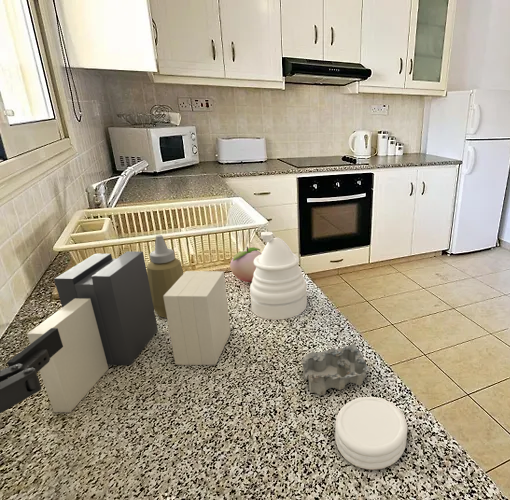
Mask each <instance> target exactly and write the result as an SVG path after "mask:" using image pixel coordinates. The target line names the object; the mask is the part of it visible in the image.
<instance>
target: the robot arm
mask: <svg viewBox="0 0 510 500" xmlns="http://www.w3.org/2000/svg"><path fill="white" fill-rule="evenodd" d="M62 347H63V344H62V341H61V338H60V334H59V331H58V328H51V329H50V330H48V331H47V332H46V333H44V334H43V335H42V336H40V337H39V338H38V339H37V340H35V341H34V342H33V343H31V344H30V343H29V345H27V346H26V347H24V348H23V349H22V350H21V351H20V352H18V353H17V354H16V355H15V356H13V357H12V358H10V359H9V360H8V361H7V363H6V364H7V366H8V367H5V368H3V369H2V368H1V369H0V414H3V413H4V412H6V411H7V410H8V409H11V408H12V407H14V406H16V405H17V404H19V403H21V402H23V401H25V400H26V399H28V398H30V397H32V396H34V395H35V394H37V393H38V392H40V391H41V390H42V384H41V381H40V379H39V376H38V372H40V371H39V370H41V369H42V368H43V367H44V366H45V365H46V364H47V363H48V362H49V361H50V358H51V357H52V356H53V355H54V354H56V353H57V352H58V351H59V350H60V349H61V348H62Z"/></svg>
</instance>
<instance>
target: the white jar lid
mask: <svg viewBox="0 0 510 500" xmlns="http://www.w3.org/2000/svg"><path fill="white" fill-rule="evenodd" d="M334 423H335V425H334V440H335V444H336V447H337V450H338V451H339V453H340V455H341V456H342V457H343V458H344V459H345V461H347V462H349V463H350V464H351V465H353V466H355V467H357V468H360V469H364V470H371V471H372V470H382V469H385V468H388V467H390V466H393V465H394V464H395V463H397V461H398V460H399V459H400V458H401V457H402V456H403V454H404V452H405V449H406V446H407V437H408V422H407V420H406V417H405V414H404V413H403V412H402V411H401V409H400V408H399V407H398V406H396V405H395V404H394V403H393V402H391V401H389V400H386V399H384V398H381V397H377V396H362V397H357V398H355V399H352V400H350V401H348V402H347V403H345V404H344V405H343V406H342V407H341V408H340V410H339V411H338V413H337V415H336V418H335V422H334Z"/></svg>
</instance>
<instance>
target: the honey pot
mask: <svg viewBox="0 0 510 500" xmlns="http://www.w3.org/2000/svg"><path fill="white" fill-rule="evenodd" d="M260 237H261V239H262V241H264V242H265V243H266V244H265V246H264V247H263V248H262V251H261V252H260V253H261V255H258V256H257V257H256V258H255V259H254V265H255V266H256V270H255V271H254V274H253V275H254V277H253V279H252V281H251V282H250V285H249V293H250V307H251V311H252V313H253V314H254V315H256V316H257V317H259V318H262V319H265V320H270V321H271V320H272V321H279V320H280V321H281V320H287V319H290V318H294V317H296V316H298V315H300V314H302V313H303V312H305V310H306V308H307V307H308V306H307V305H308V292H307V290H308V289H307V282H306V280H305V278H304V275H303V273H302V272H303V271H302V268H301V267H300V266H299V263H300V262H299V261H300V258H299V256H298V255H297V254H296V253H294V252H293V251H292V249H291V248H290V246H289V245H288V244H287V242H286V241H284V239H283V238H280V237H274V233H273V232H272V231H263V232H261V233H260Z"/></svg>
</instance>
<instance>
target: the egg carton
mask: <svg viewBox="0 0 510 500" xmlns="http://www.w3.org/2000/svg"><path fill="white" fill-rule="evenodd" d="M300 362H301V364H302V376H303V379H304V381H306V380H308V391H309V393H310V394H317V395H318V396H324V395H326V394H327V393H326V392H327V390H330V389H336V390H338V391H341V390H345V387H346V385H348V384H355V385H356V386H361V385H363V383H364V380H365V379H366V378H367V372H368V371H371V370H370V369H371V368H370V367H369V366H368V365H367V361H366V360H365V359H364V357H363V355H362V353H361V351H360V350H359V349H358V347H357V345H356V344H355V343H351V344H349V345H347V346H343V347H338V348H337V349H336V348H335V347H333V348H330V349H327V350H322V351H319V352H309V353H307V354H306V355H305V356H304V357H302V358H301V360H300Z"/></svg>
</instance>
